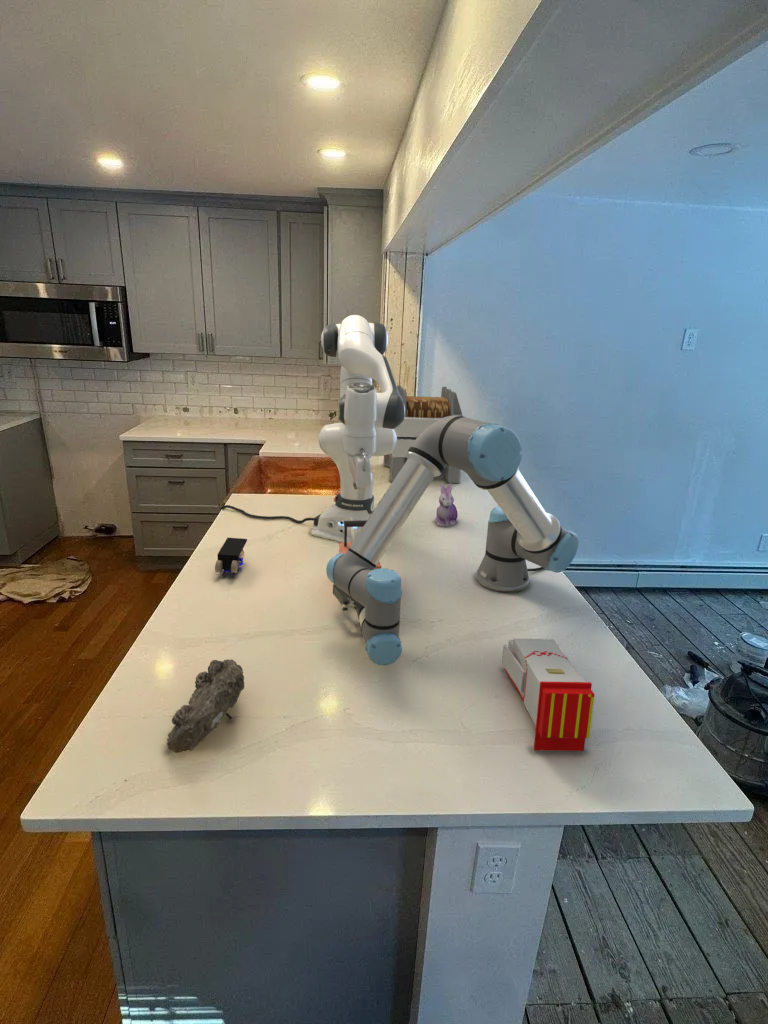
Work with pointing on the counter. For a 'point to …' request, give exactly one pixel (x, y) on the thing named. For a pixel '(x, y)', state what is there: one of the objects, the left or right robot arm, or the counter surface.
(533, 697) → the toy
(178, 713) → the fossil
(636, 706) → the counter surface
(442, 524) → the figurine
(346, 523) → the lid
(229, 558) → the figurine character
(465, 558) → the counter surface
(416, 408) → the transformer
